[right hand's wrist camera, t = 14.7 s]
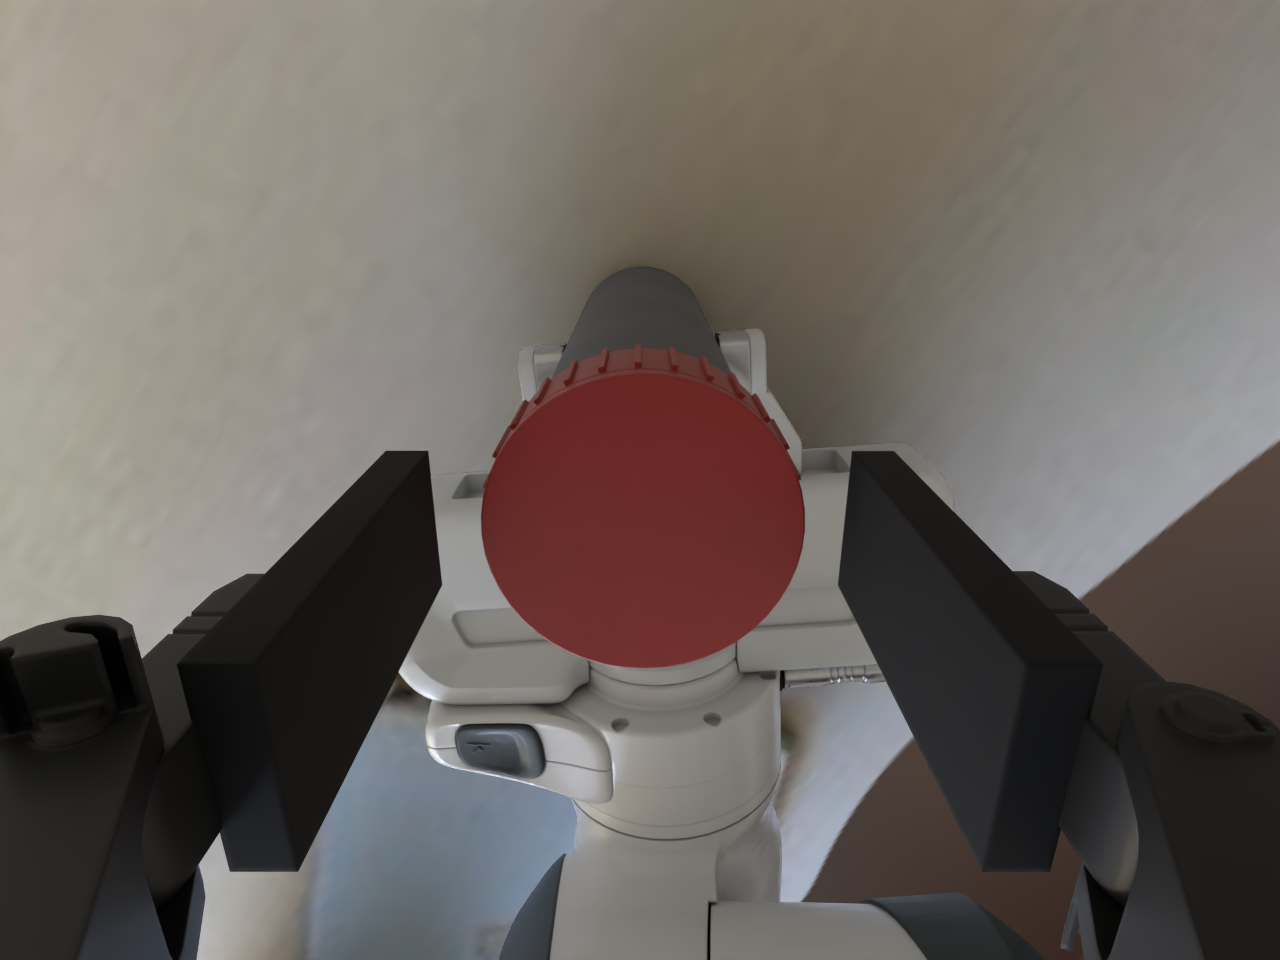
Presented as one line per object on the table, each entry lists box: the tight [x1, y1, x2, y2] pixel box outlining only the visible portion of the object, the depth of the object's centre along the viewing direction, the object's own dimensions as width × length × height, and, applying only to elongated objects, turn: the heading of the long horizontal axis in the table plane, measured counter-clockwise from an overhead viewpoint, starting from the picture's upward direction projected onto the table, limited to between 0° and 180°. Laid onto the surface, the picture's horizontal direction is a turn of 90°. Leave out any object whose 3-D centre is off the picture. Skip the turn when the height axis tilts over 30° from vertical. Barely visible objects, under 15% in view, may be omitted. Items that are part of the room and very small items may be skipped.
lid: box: [481, 344, 805, 669], centre depth 14 cm, size 6×6×2 cm
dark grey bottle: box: [551, 267, 731, 379], centre depth 22 cm, size 5×5×19 cm
